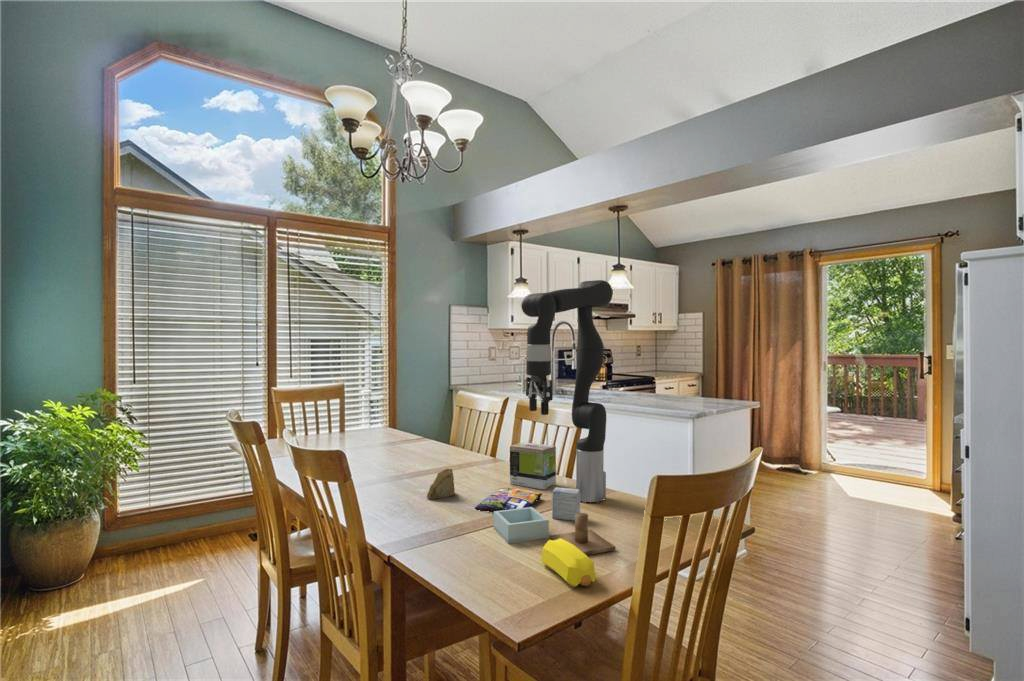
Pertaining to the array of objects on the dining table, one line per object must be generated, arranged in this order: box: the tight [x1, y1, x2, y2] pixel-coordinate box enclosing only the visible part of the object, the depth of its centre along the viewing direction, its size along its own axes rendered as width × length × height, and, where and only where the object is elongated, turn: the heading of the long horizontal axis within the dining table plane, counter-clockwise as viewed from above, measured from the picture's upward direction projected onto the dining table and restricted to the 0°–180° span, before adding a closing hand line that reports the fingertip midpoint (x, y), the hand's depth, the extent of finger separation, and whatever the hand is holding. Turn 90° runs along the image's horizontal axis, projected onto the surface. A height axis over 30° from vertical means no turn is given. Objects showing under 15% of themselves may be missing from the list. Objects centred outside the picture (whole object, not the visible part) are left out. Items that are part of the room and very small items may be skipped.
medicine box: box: [551, 486, 581, 522], centre depth 165 cm, size 8×4×9 cm, turn 71°
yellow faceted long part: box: [540, 538, 596, 588], centre depth 126 cm, size 18×7×8 cm
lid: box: [548, 512, 617, 555], centre depth 143 cm, size 13×13×8 cm
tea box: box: [509, 441, 557, 490], centre depth 202 cm, size 15×10×15 cm, turn 58°
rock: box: [426, 468, 456, 500], centre depth 187 cm, size 11×9×10 cm
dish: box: [493, 506, 550, 545], centre depth 152 cm, size 12×12×5 cm
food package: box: [474, 487, 543, 513], centre depth 178 cm, size 22×25×4 cm
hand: (538, 412), depth 163 cm, fingers open, 8 cm apart
